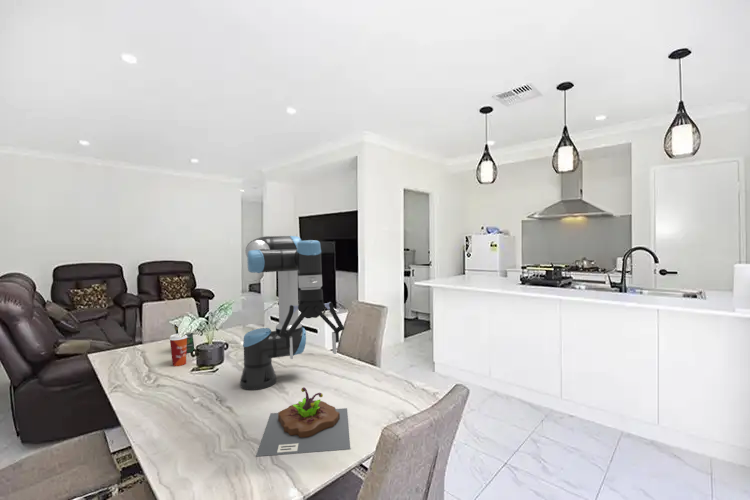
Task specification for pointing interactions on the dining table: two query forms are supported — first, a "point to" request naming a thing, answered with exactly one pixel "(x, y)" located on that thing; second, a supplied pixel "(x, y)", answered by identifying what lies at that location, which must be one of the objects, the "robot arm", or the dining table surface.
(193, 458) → the dining table surface
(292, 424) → the plant
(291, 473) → the dining table surface
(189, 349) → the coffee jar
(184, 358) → the coffee cup
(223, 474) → the dining table surface
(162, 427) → the dining table surface
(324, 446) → the label mat
